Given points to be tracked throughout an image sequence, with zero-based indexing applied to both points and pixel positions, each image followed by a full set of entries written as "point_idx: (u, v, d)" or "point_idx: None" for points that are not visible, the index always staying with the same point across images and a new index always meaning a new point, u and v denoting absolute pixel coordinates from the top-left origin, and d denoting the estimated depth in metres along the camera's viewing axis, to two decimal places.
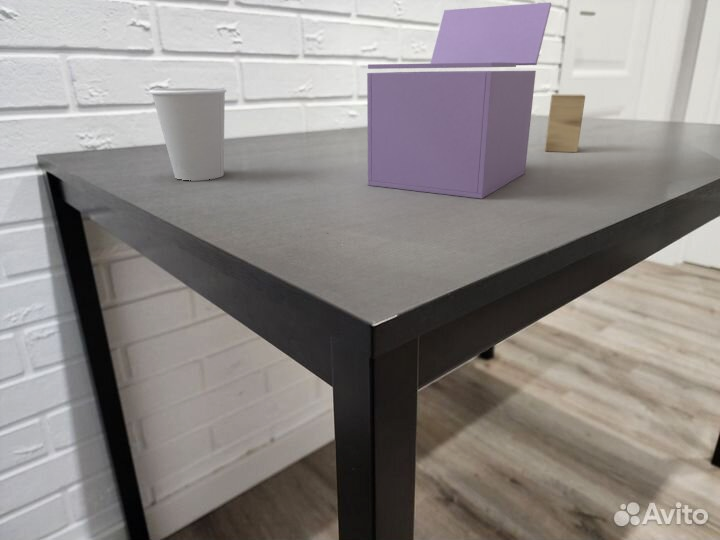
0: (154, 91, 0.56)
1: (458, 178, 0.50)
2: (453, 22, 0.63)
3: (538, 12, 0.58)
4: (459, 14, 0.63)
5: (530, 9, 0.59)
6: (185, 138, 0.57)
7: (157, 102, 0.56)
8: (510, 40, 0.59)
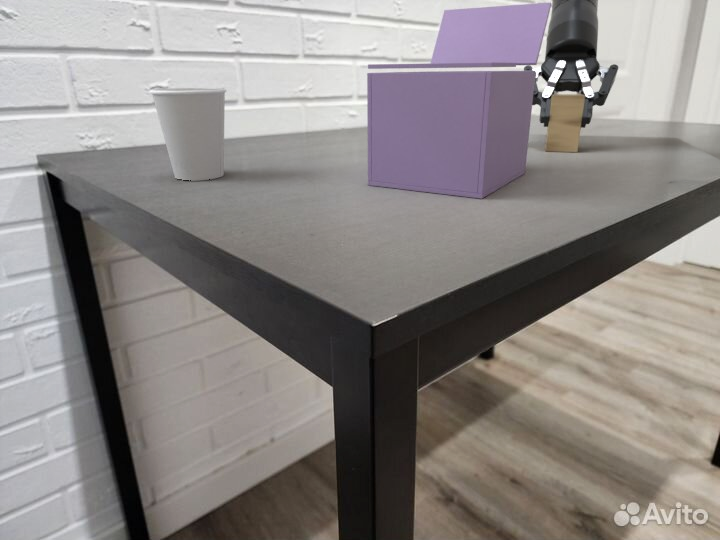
0: (154, 91, 0.56)
1: (458, 178, 0.50)
2: (453, 22, 0.63)
3: (538, 12, 0.58)
4: (459, 14, 0.63)
5: (530, 9, 0.59)
6: (185, 138, 0.57)
7: (157, 102, 0.56)
8: (510, 40, 0.59)
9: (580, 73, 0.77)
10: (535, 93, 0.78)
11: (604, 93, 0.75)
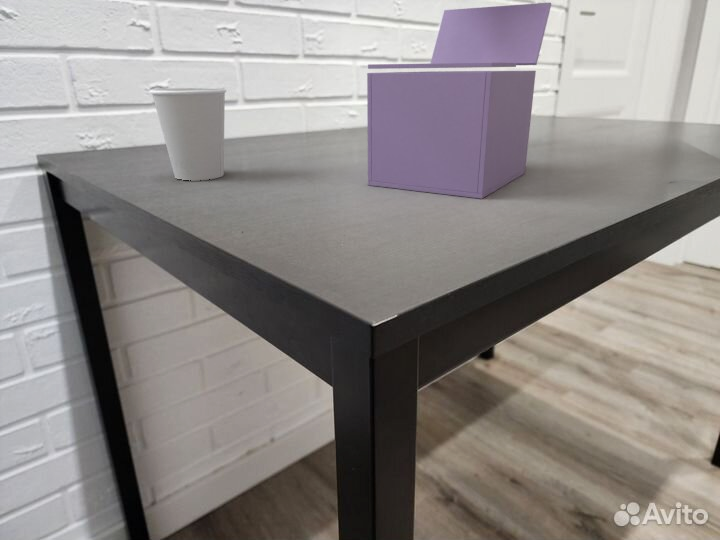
0: (154, 91, 0.56)
1: (458, 178, 0.50)
2: (453, 22, 0.63)
3: (538, 12, 0.58)
4: (459, 14, 0.63)
5: (530, 9, 0.59)
6: (185, 138, 0.57)
7: (157, 102, 0.56)
8: (510, 40, 0.59)
9: None
10: None
11: None
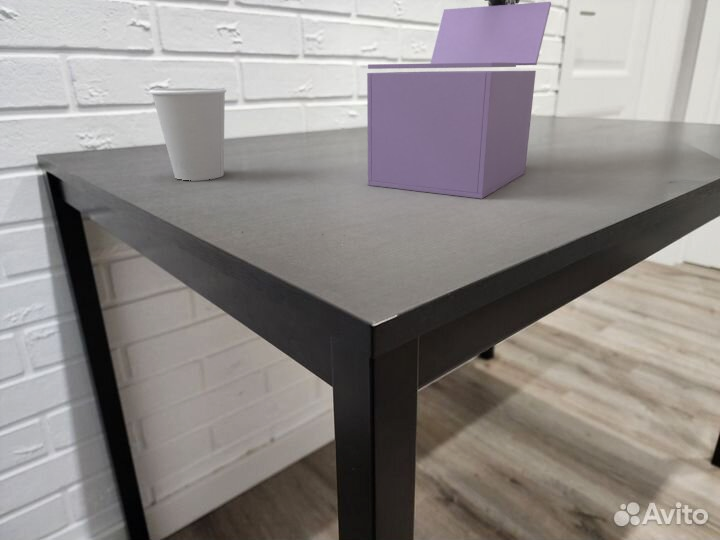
0: (154, 91, 0.56)
1: (458, 178, 0.50)
2: (453, 21, 0.63)
3: (538, 11, 0.58)
4: (459, 13, 0.63)
5: (530, 8, 0.58)
6: (185, 138, 0.57)
7: (157, 102, 0.56)
8: (510, 40, 0.59)
9: None
10: None
11: (518, 1, 0.64)
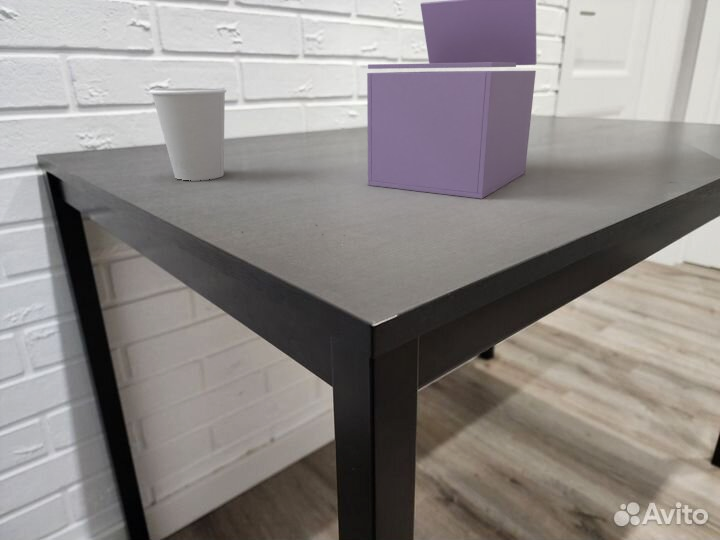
0: (154, 91, 0.56)
1: (458, 178, 0.50)
2: (436, 19, 0.59)
3: (524, 7, 0.53)
4: (438, 9, 0.58)
5: (514, 2, 0.54)
6: (185, 138, 0.57)
7: (157, 102, 0.56)
8: (503, 40, 0.57)
9: None
10: None
11: None
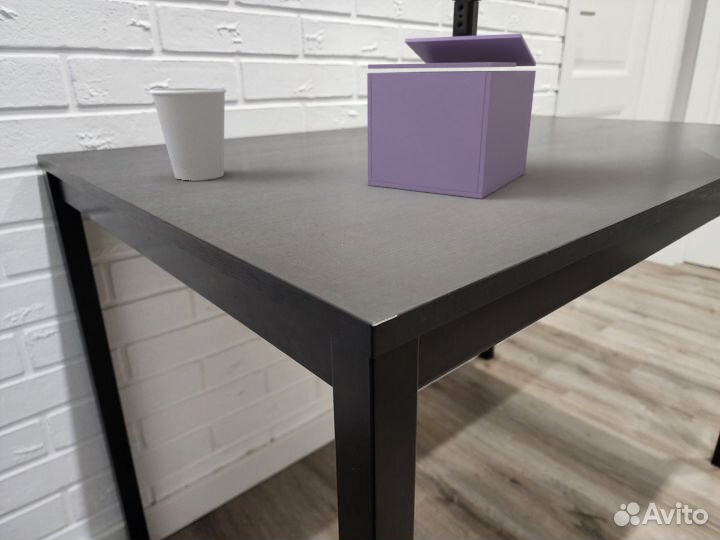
0: (154, 91, 0.56)
1: (458, 178, 0.50)
2: (424, 48, 0.58)
3: (512, 42, 0.52)
4: (425, 44, 0.57)
5: (501, 41, 0.52)
6: (185, 138, 0.57)
7: (157, 102, 0.56)
8: (497, 56, 0.56)
9: None
10: None
11: None
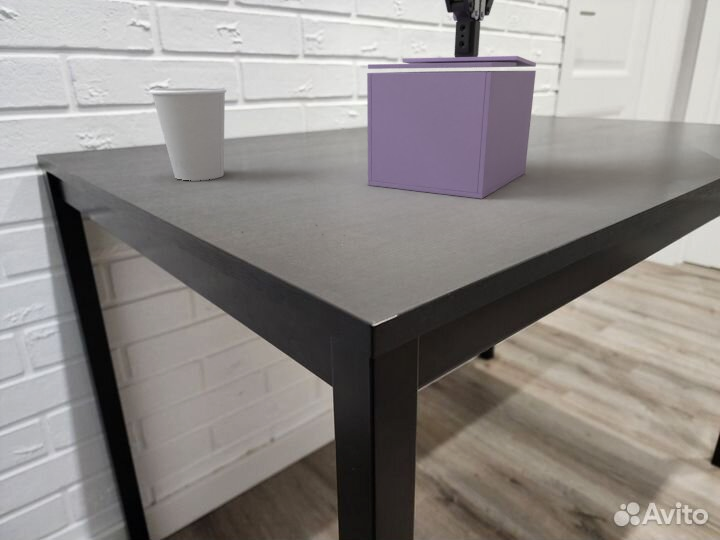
0: (154, 91, 0.56)
1: (458, 178, 0.50)
2: (423, 63, 0.58)
3: (509, 61, 0.53)
4: (423, 62, 0.57)
5: (498, 61, 0.53)
6: (185, 138, 0.57)
7: (157, 102, 0.56)
8: None
9: None
10: (471, 8, 0.52)
11: (488, 13, 0.56)
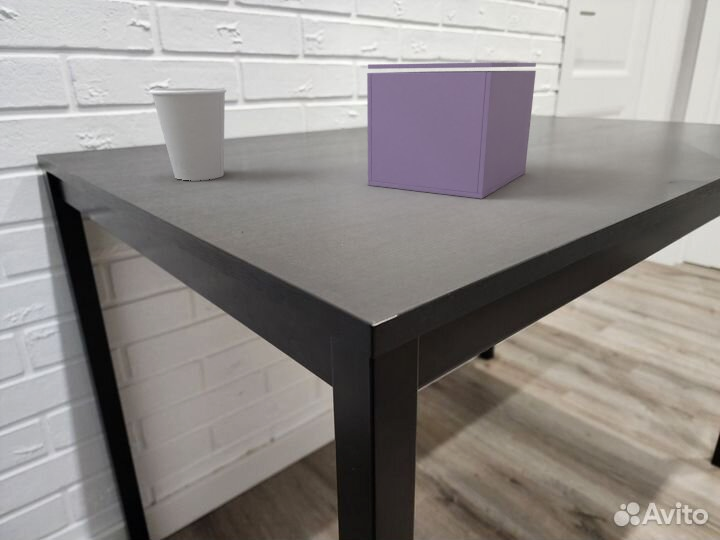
0: (154, 91, 0.56)
1: (458, 178, 0.50)
2: None
3: None
4: None
5: None
6: (185, 138, 0.57)
7: (157, 102, 0.56)
8: None
9: None
10: None
11: None
